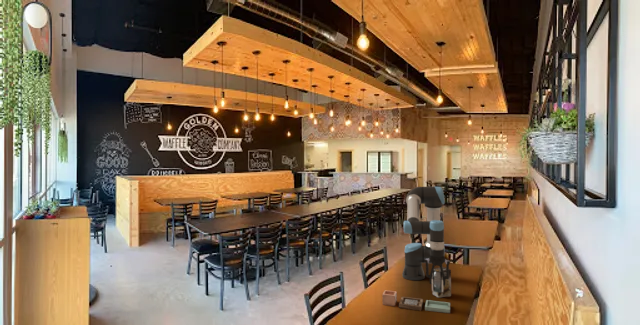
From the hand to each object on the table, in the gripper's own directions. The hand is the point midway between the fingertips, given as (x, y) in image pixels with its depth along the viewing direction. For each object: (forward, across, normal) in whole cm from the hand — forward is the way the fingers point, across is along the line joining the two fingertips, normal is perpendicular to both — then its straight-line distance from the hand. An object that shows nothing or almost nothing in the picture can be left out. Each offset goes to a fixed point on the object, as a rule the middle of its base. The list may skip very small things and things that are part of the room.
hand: (437, 290), depth 206 cm
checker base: (+10, -14, 0) cm, 18 cm away
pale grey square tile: (+9, -14, 0) cm, 17 cm away
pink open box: (+10, -26, -1) cm, 28 cm away
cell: (0, 0, 0) cm, 0 cm away
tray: (+10, 0, 0) cm, 10 cm away
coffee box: (+10, +2, +21) cm, 24 cm away
